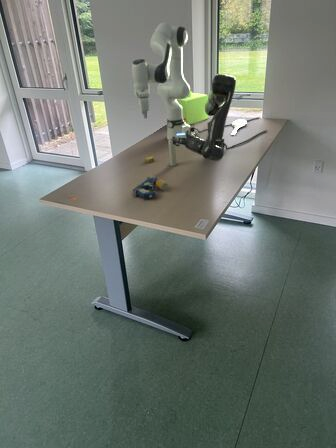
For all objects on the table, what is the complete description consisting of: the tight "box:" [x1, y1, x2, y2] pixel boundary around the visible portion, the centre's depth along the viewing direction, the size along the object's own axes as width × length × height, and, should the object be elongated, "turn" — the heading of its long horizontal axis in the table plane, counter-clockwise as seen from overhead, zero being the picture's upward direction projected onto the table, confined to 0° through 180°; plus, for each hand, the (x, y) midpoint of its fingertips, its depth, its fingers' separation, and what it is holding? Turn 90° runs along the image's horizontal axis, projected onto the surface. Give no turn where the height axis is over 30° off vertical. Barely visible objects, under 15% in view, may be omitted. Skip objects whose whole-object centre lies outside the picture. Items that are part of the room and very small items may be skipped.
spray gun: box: [131, 175, 169, 200], centre depth 172 cm, size 21×4×15 cm
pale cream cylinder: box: [167, 137, 178, 167], centre depth 199 cm, size 4×4×17 cm
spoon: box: [231, 119, 248, 136], centre depth 255 cm, size 35×11×2 cm, turn 159°
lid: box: [145, 156, 154, 163], centre depth 210 cm, size 5×5×2 cm
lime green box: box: [176, 90, 210, 126], centre depth 283 cm, size 25×21×23 cm
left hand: (144, 116), depth 197 cm, fingers open, 8 cm apart
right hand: (179, 136), depth 184 cm, fingers open, 8 cm apart
